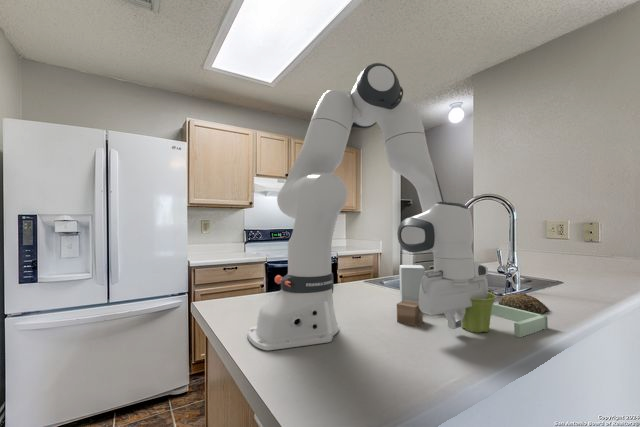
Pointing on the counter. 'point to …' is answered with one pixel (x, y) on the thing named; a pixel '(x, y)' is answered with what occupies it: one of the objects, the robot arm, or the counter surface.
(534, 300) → the bread roll
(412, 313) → the walnut block
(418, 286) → the supplement box
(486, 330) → the plant pot
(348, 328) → the counter surface
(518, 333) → the corral
